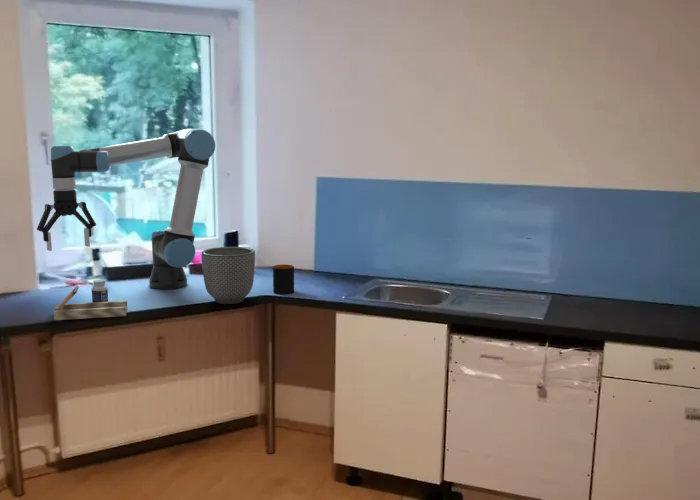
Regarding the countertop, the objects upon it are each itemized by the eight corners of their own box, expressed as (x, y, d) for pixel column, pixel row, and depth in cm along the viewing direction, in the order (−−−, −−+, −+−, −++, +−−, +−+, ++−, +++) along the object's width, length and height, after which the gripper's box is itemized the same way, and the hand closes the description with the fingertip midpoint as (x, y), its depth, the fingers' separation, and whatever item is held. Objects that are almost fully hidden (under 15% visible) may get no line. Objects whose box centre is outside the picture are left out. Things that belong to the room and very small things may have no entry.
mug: (289, 287, 282) (289, 262, 280) (296, 293, 271) (296, 268, 269) (269, 288, 279) (268, 263, 278) (275, 295, 268) (275, 269, 266)
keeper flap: (79, 287, 241) (77, 285, 240) (76, 292, 233) (74, 291, 232) (65, 301, 240) (62, 300, 240) (61, 307, 232) (59, 306, 232)
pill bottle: (103, 309, 246) (101, 282, 244) (89, 308, 247) (88, 281, 245) (111, 305, 251) (109, 279, 250) (98, 304, 252) (96, 278, 251)
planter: (229, 292, 273) (228, 244, 269) (266, 299, 262) (266, 250, 258) (191, 302, 257) (189, 251, 253) (229, 310, 246) (228, 257, 242)
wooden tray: (127, 308, 247) (126, 299, 246) (126, 315, 237) (125, 306, 237) (58, 312, 241) (57, 302, 240) (54, 320, 232) (53, 310, 231)
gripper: (94, 186, 257) (98, 243, 261) (24, 190, 240) (29, 250, 244) (103, 188, 251) (106, 245, 255) (31, 192, 235) (36, 253, 239)
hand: (68, 248), depth 250 cm, fingers open, 13 cm apart
